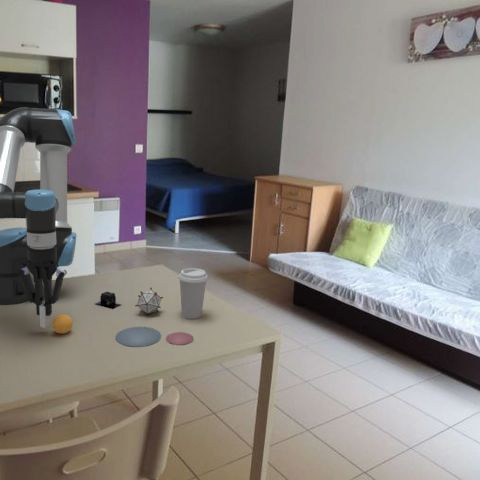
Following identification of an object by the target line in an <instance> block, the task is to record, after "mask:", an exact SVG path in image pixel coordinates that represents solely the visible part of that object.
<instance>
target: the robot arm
mask: <svg viewBox="0 0 480 480" xmlns="http://www.w3.org/2000/svg"><path fill="white" fill-rule="evenodd" d="M26 143H31V144H32V143H33V144H35V149H36V150H37V151H38V152H39V157H40V158H39V162H40V163H39V164H40V165H39V166H40V167H39V169H40V171H39V173H40V174H39V175H40V177H39V179H40V180H39V182H40V186H39V189H31V190H30V189H29V190H27V191H26V192H19V191H18V192H17V191H16V192H15V186H16V180H17V179H16V178H17V173H18V169H19V166H18V165H19V160H20V153H21V149H22V148H23V146H25V144H26ZM76 143H77V142H76V135H75V129H74V121H73V115H72V113H71V112H70V111H69V110H63V109H58V108H56V109H55V108H38V107H27V106H23V107H17V108H14V109H12V110H9V112H7V113H6V114H4V115H3V116H2V117H1V118H0V219H26V220H25V221H26V222H25V225H26V227H11V228H5V229H2V230H1V229H0V305H14V304H15V305H16V304H21V303H24V302H29V303H33V304H35V306H36V309H35V310H36V315H37V316H39V326H40V328H47V327H48V326H49V325H50V315H52V313H53V309H52V308H53V307H52V306H53V305H54V304H55V303H57V302H58V301H59V298H60V294H61V290H62V285H63V281H64V278H65V277H66V275H67V274H68V271H67V270H65V269H64V270H63V269H61V268H60V267H70V266H71V265H72V264H73V262H74V257H75V251H76V241H77V233H76V232H74V231H73V227H72V226H71V225H70V224H69V223H68V160H67V159H68V156H67V155H68V154H69V153H70V151H72V146H74V145H76ZM54 275H55V276H56V279H55V282H54V287H53V285H52V284H53V276H54ZM32 277H33V278H32Z"/></svg>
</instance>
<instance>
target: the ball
mask: <svg viewBox="0 0 480 480" xmlns="http://www.w3.org/2000/svg"><path fill="white" fill-rule="evenodd" d="M51 326H52V329H53V331H55V333H57V334H66V333H68V332H69V331H71V329H72V328H73V320H72V318H71V317H70V316H69V315H68V314H63V313H62V314H59V315H57V316H56V317H54V319H53V320H52V325H51Z"/></svg>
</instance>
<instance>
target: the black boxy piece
mask: <svg viewBox="0 0 480 480" xmlns="http://www.w3.org/2000/svg"><path fill="white" fill-rule="evenodd" d="M99 297H100V299H99V300H100V301H98V302H95V303H94V305H95V306H100V307H101V308H107V309H111V310H114V309H117V308H119V307H121V306H122V304H120V303H118V302H117V303H116V300H117V298H116V293H114V292H110V291H105V292H102V293H101V294H100V296H99Z"/></svg>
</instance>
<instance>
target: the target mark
mask: <svg viewBox="0 0 480 480" xmlns="http://www.w3.org/2000/svg"><path fill="white" fill-rule="evenodd" d="M161 339H162V334H161V332H160V331H158V329H155V328H151V327H147V326H133V327H128V328H125V329H122V330H120V331H119V332H117V333H116V335H115V340H116V342H117V343H119V344H120V345H123V346H126V347H132V348H140V347H141V348H143V347H148V346H152V345H154V344H156V343H158V342H159V341H160V340H161Z"/></svg>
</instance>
